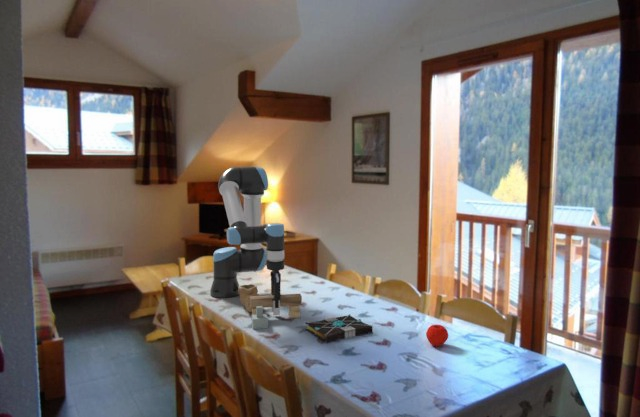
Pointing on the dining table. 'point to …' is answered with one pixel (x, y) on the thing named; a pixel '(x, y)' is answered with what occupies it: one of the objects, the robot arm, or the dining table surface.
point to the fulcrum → (259, 319)
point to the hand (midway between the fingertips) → (275, 312)
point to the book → (338, 328)
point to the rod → (267, 300)
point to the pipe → (247, 294)
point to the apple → (437, 335)
